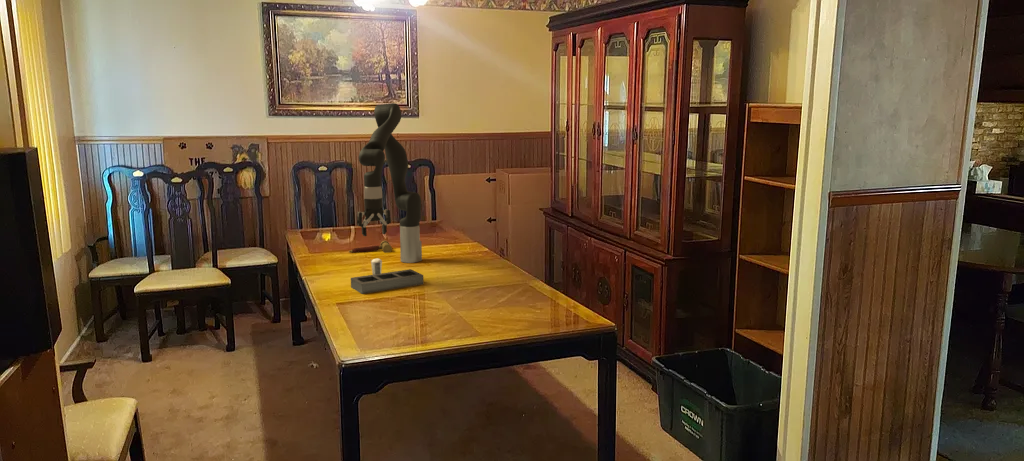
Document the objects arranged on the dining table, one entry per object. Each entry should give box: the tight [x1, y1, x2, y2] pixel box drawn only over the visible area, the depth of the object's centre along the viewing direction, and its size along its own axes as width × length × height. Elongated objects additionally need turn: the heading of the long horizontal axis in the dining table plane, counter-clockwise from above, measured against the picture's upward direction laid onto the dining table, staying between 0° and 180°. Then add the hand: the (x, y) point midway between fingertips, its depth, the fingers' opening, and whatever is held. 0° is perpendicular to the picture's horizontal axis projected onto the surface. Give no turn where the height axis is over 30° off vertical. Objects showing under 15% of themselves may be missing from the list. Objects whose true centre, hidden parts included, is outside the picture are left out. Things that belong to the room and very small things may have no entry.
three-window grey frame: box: [350, 268, 424, 295], centre depth 289 cm, size 27×12×4 cm, turn 124°
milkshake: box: [370, 257, 383, 275], centre depth 298 cm, size 4×5×10 cm
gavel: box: [348, 240, 393, 254], centre depth 354 cm, size 21×5×10 cm
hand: (374, 234), depth 295 cm, fingers open, 8 cm apart
